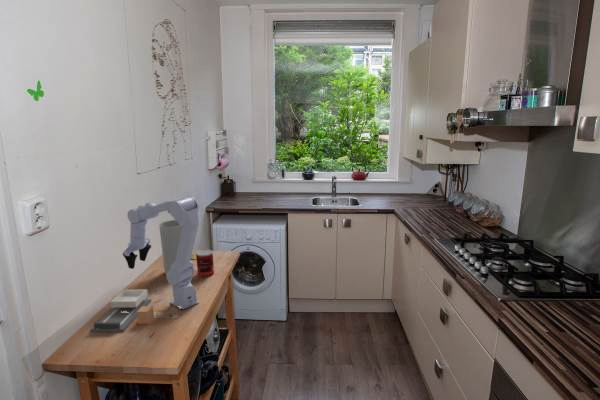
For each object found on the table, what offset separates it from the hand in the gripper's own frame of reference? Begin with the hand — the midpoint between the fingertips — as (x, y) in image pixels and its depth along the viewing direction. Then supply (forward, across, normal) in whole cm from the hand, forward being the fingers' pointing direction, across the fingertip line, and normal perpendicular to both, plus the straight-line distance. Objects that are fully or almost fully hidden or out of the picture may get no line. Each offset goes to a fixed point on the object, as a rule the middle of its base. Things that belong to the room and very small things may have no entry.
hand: (137, 264), depth 157 cm
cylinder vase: (+13, -22, +8) cm, 26 cm away
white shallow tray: (+10, +13, +7) cm, 18 cm away
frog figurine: (+16, -38, 0) cm, 42 cm away
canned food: (+10, -22, +22) cm, 33 cm away
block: (+8, +21, +19) cm, 30 cm away
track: (+11, +19, +8) cm, 23 cm away
